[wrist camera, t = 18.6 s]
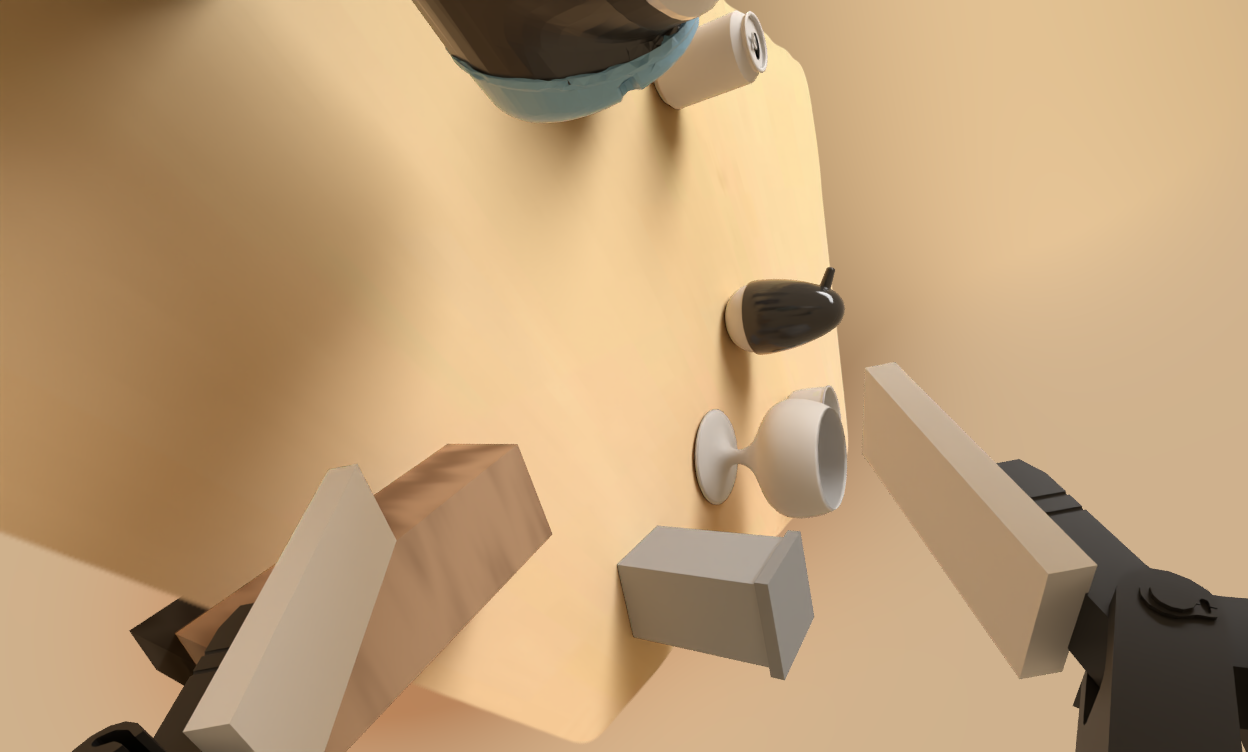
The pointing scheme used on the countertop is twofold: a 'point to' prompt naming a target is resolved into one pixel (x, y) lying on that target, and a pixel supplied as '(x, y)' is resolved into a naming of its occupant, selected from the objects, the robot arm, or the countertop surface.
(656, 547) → the stand
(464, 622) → the walnut handle block
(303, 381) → the countertop surface
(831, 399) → the teacup
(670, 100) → the can
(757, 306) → the pump dispenser
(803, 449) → the chalice
